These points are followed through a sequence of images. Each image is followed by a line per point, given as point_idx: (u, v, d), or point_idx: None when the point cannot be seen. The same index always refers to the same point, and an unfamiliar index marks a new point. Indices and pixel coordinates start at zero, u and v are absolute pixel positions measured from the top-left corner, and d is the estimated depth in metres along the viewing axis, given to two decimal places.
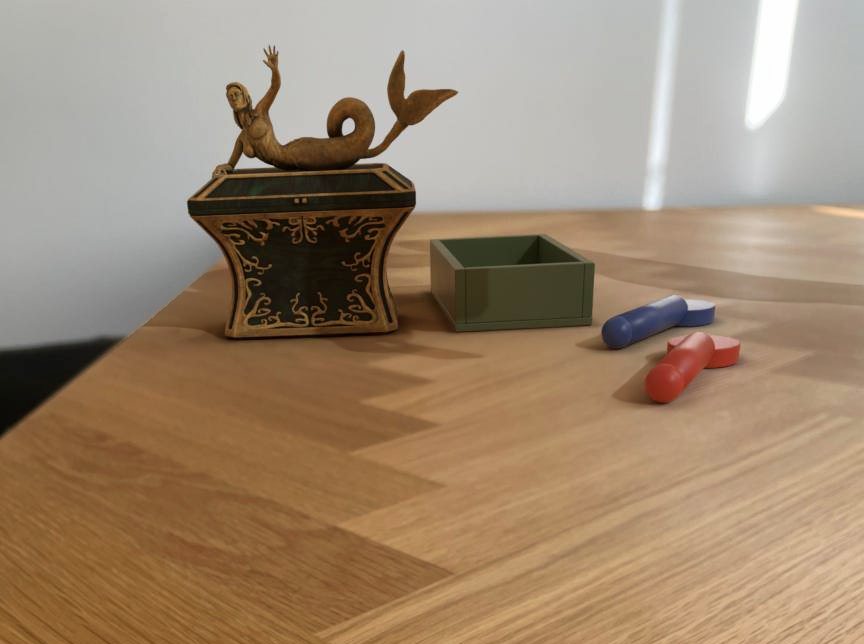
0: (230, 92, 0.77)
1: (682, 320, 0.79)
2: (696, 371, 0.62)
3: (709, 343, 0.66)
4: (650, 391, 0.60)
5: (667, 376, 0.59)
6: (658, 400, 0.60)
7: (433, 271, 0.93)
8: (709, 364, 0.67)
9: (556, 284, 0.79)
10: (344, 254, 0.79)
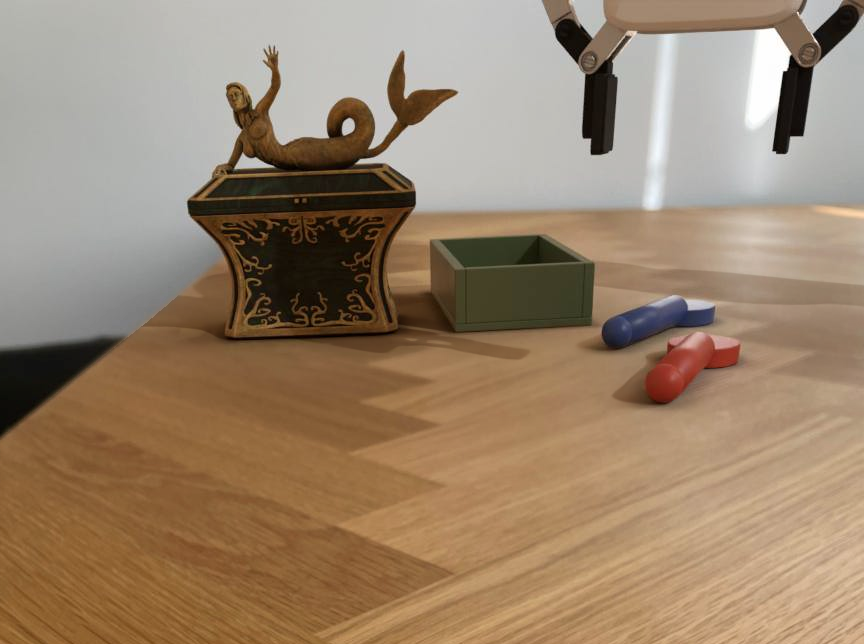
0: (230, 92, 0.77)
1: (682, 320, 0.79)
2: (696, 371, 0.62)
3: (709, 343, 0.66)
4: (650, 391, 0.60)
5: (667, 376, 0.59)
6: (658, 400, 0.60)
7: (433, 271, 0.93)
8: (709, 364, 0.67)
9: (556, 284, 0.79)
10: (344, 254, 0.79)
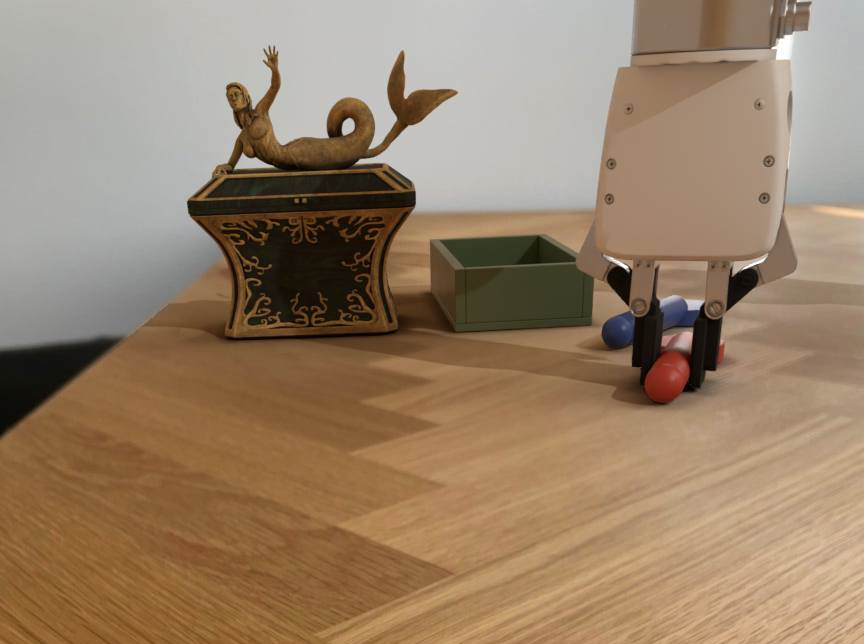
0: (230, 92, 0.77)
1: (682, 320, 0.79)
2: None
3: None
4: (651, 391, 0.60)
5: (668, 376, 0.59)
6: (659, 400, 0.60)
7: (433, 271, 0.93)
8: None
9: (556, 284, 0.79)
10: (344, 254, 0.79)
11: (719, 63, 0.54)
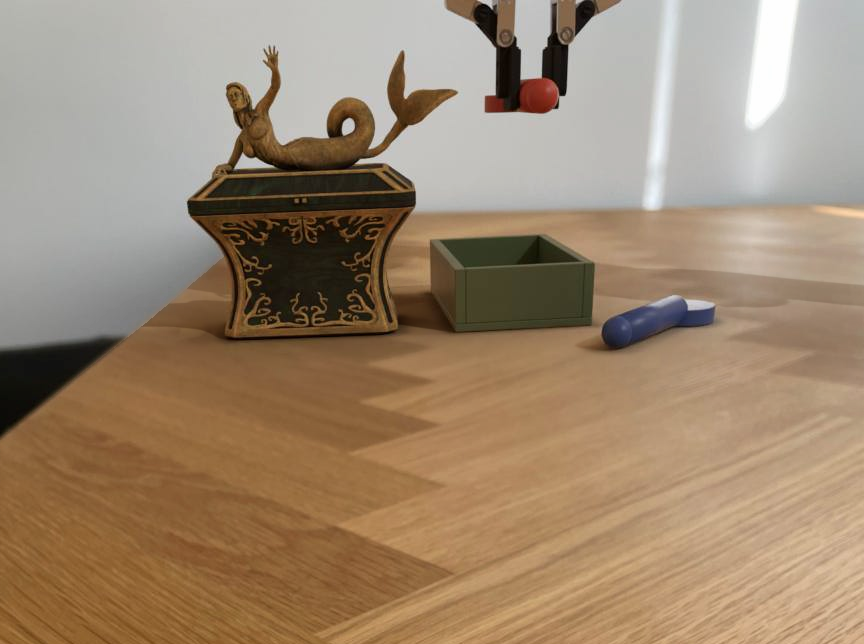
0: (230, 92, 0.77)
1: (682, 320, 0.79)
2: None
3: None
4: (536, 101, 0.71)
5: (550, 85, 0.71)
6: (542, 110, 0.72)
7: (433, 271, 0.93)
8: None
9: (556, 284, 0.79)
10: (344, 254, 0.79)
11: None
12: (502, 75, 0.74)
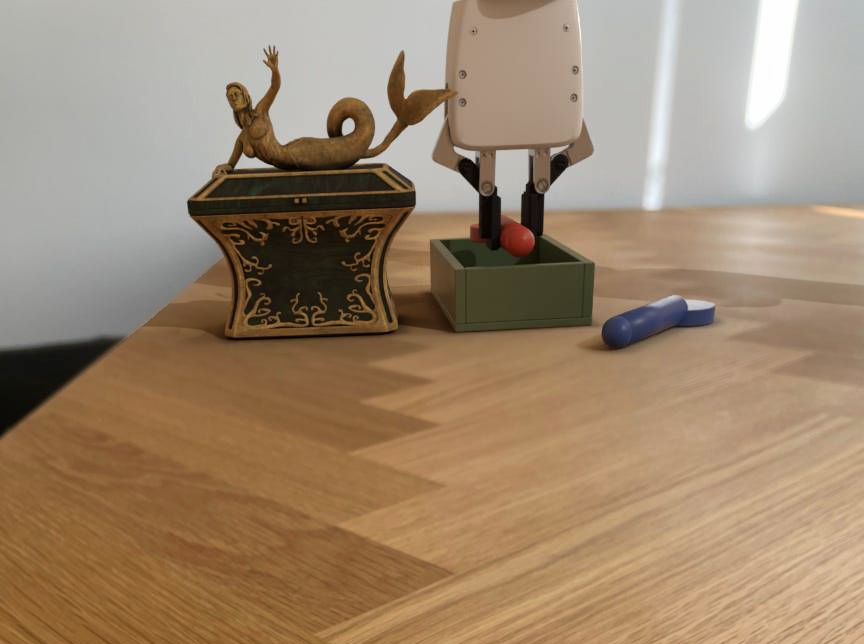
0: (230, 92, 0.77)
1: (682, 320, 0.79)
2: None
3: None
4: (514, 248, 0.79)
5: (526, 235, 0.79)
6: (519, 255, 0.79)
7: (433, 271, 0.93)
8: None
9: (556, 284, 0.79)
10: (344, 254, 0.79)
11: None
12: (484, 219, 0.82)
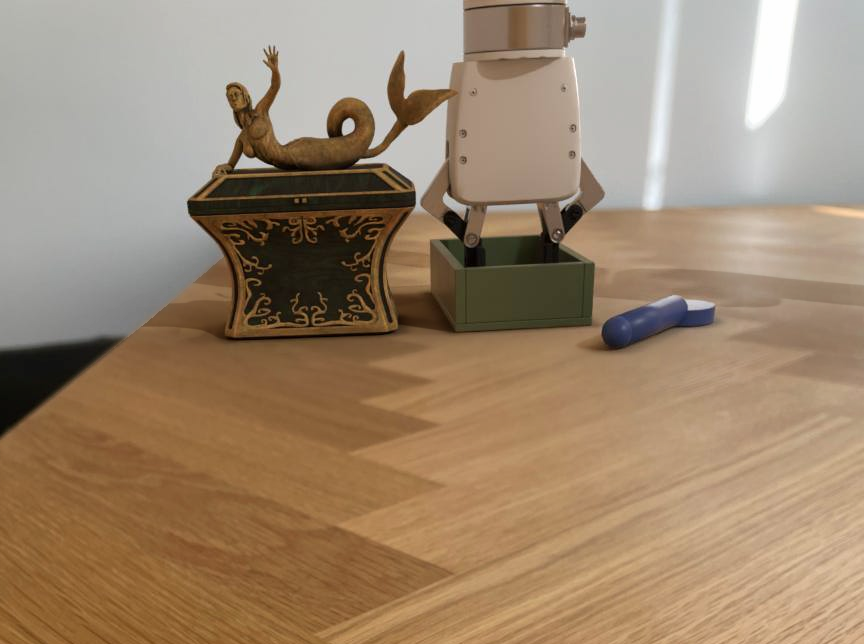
0: (230, 92, 0.77)
1: (682, 320, 0.79)
2: None
3: None
4: None
5: None
6: None
7: (433, 271, 0.93)
8: None
9: (556, 284, 0.79)
10: (344, 254, 0.79)
11: (536, 59, 0.75)
12: None
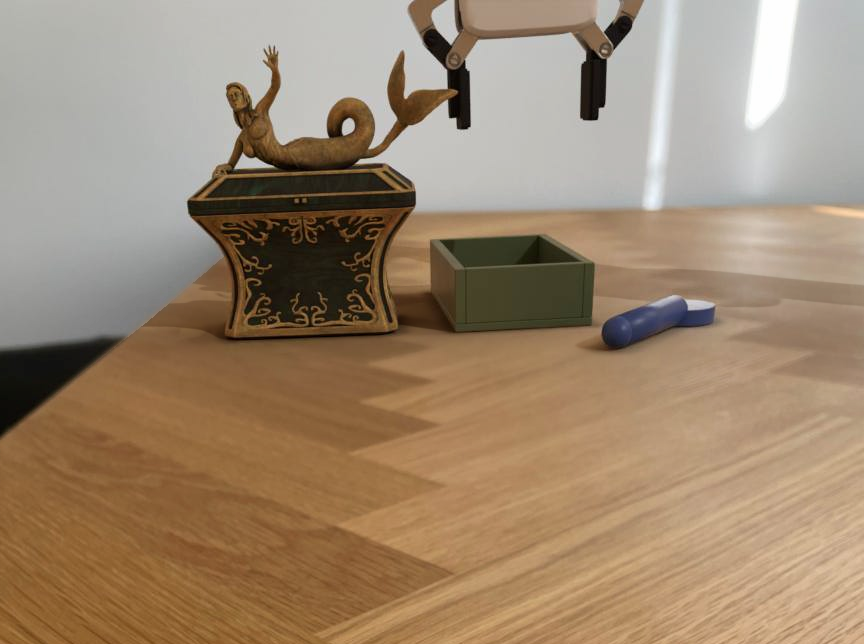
0: (230, 92, 0.77)
1: (682, 320, 0.79)
2: None
3: None
4: None
5: None
6: None
7: (433, 271, 0.93)
8: None
9: (556, 284, 0.79)
10: (344, 254, 0.79)
11: None
12: (453, 96, 0.78)
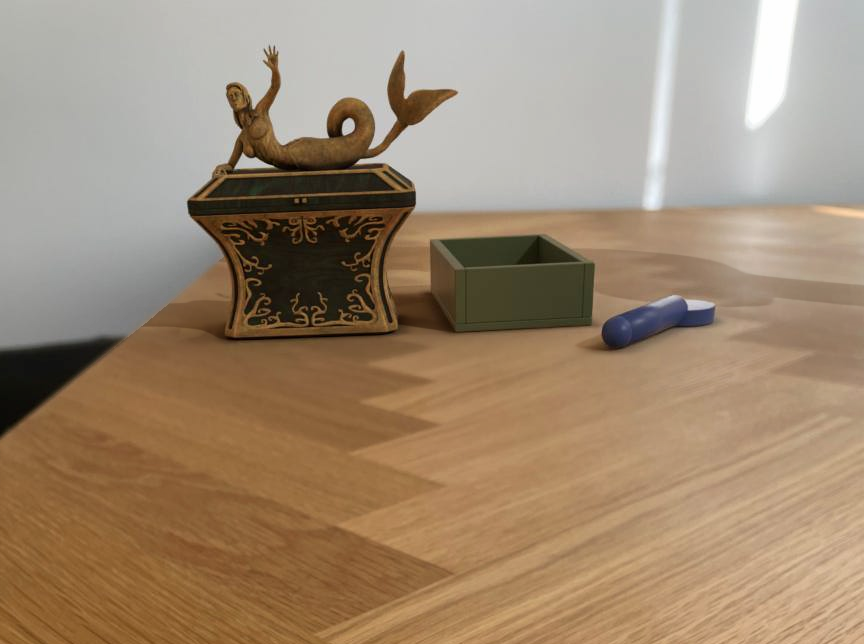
0: (230, 92, 0.77)
1: (682, 320, 0.79)
2: None
3: None
4: None
5: None
6: None
7: (433, 271, 0.93)
8: None
9: (556, 284, 0.79)
10: (344, 254, 0.79)
11: None
12: None
